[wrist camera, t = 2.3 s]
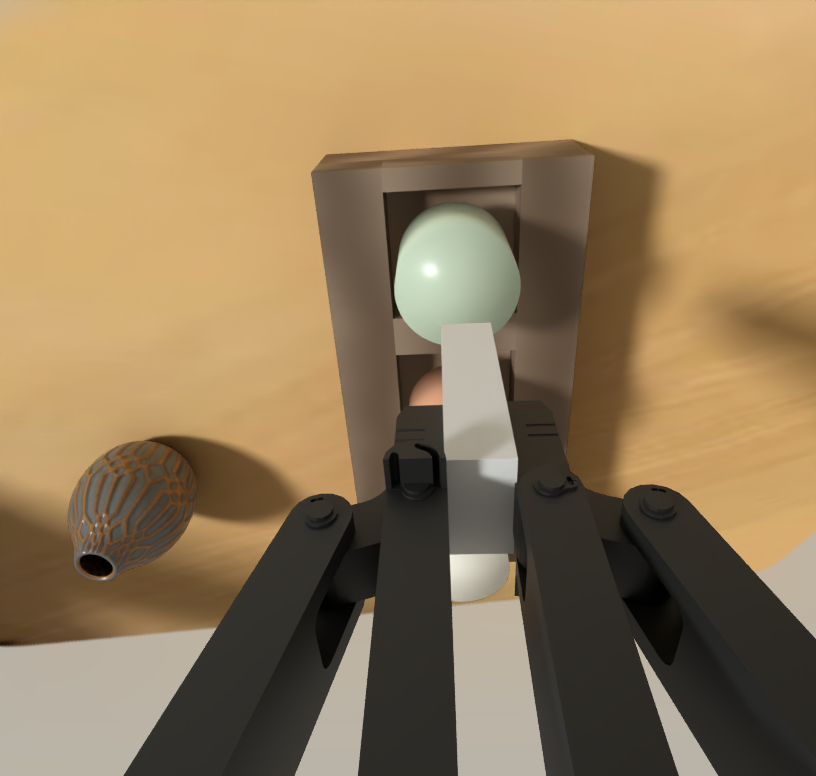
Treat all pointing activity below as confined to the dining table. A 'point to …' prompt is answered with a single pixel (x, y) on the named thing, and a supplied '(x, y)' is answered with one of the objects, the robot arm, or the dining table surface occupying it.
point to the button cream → (477, 575)
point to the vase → (130, 508)
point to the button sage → (455, 270)
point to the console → (377, 262)
